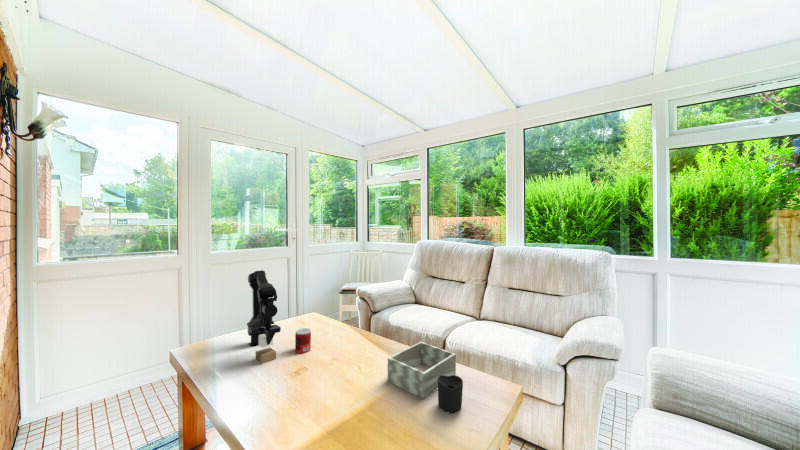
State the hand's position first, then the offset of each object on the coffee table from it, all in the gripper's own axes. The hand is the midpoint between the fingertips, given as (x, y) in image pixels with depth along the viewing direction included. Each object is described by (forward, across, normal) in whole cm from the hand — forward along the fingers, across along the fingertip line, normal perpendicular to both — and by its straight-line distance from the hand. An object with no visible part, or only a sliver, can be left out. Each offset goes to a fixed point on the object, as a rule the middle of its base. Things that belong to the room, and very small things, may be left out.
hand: (265, 342), depth 146 cm
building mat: (+9, 0, 0) cm, 9 cm away
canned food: (+9, +4, +18) cm, 21 cm away
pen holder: (+9, +87, +31) cm, 93 cm away
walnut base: (+8, 0, 0) cm, 8 cm away
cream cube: (+1, 0, 0) cm, 1 cm away
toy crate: (+8, +67, +40) cm, 79 cm away
